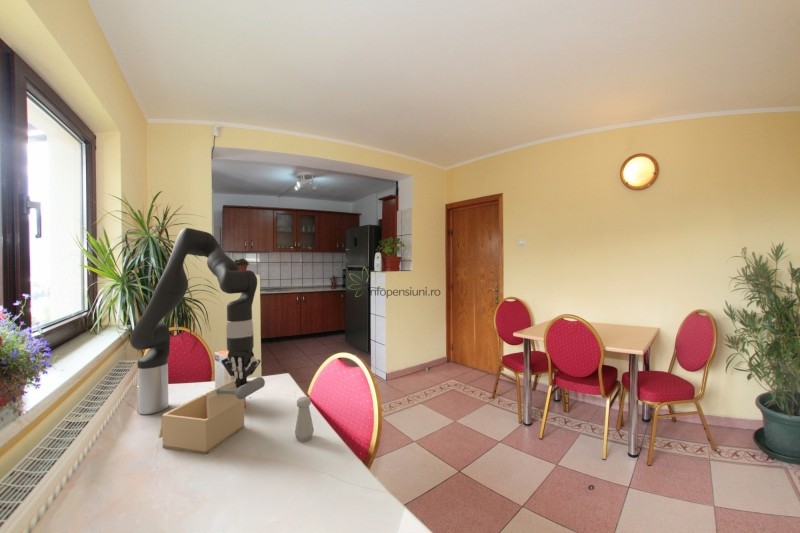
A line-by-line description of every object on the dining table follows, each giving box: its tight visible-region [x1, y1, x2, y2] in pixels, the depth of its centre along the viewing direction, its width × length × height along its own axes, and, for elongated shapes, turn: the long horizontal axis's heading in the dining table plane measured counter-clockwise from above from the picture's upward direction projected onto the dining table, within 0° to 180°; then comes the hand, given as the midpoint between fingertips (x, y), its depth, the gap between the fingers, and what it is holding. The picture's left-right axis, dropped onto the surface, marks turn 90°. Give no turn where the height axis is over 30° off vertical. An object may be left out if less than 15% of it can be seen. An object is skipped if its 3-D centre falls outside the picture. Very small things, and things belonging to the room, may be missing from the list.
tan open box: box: [158, 393, 245, 455], centre depth 105 cm, size 18×16×10 cm
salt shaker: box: [294, 396, 315, 443], centre depth 103 cm, size 6×6×13 cm
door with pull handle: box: [205, 376, 266, 420], centre depth 101 cm, size 9×15×11 cm
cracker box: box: [214, 349, 247, 409], centre depth 127 cm, size 14×6×21 cm, turn 52°
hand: (241, 389), depth 101 cm, fingers closed
